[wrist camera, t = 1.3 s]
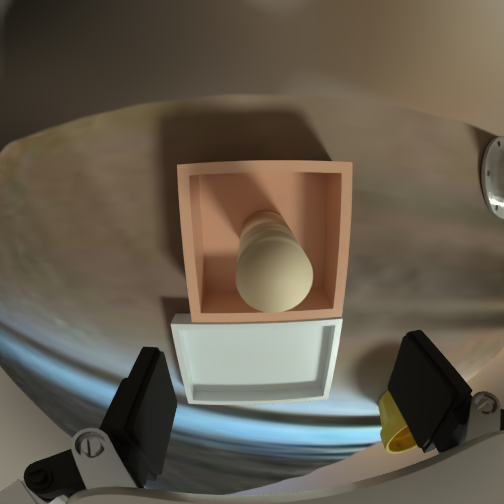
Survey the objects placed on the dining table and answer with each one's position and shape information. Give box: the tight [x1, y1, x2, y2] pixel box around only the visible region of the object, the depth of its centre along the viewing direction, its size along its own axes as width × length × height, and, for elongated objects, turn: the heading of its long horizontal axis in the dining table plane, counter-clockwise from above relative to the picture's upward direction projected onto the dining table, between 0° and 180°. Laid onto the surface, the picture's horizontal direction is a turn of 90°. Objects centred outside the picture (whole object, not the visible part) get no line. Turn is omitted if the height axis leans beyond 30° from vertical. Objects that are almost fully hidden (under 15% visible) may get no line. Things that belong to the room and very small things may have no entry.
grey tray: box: [171, 313, 343, 405], centre depth 35 cm, size 20×14×2 cm
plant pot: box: [378, 390, 417, 453], centre depth 35 cm, size 10×10×10 cm
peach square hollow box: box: [177, 160, 352, 322], centre depth 28 cm, size 15×15×6 cm
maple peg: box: [236, 210, 313, 313], centre depth 24 cm, size 5×5×12 cm
